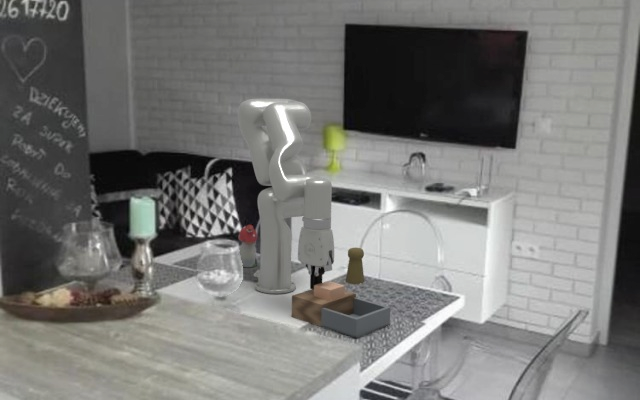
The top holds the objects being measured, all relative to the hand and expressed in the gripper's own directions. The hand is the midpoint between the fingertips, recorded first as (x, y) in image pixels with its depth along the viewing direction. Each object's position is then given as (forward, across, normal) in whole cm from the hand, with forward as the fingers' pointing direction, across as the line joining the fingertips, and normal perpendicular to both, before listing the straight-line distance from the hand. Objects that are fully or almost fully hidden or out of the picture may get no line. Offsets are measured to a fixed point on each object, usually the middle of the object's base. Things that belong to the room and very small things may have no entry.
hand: (316, 288), depth 198 cm
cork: (+7, -13, +32) cm, 35 cm away
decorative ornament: (+7, -51, +20) cm, 55 cm away
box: (+7, +14, 0) cm, 16 cm away
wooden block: (+7, +3, 0) cm, 8 cm away
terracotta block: (+1, +5, 0) cm, 5 cm away
